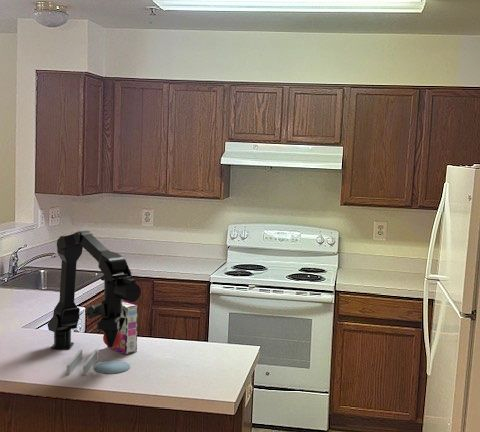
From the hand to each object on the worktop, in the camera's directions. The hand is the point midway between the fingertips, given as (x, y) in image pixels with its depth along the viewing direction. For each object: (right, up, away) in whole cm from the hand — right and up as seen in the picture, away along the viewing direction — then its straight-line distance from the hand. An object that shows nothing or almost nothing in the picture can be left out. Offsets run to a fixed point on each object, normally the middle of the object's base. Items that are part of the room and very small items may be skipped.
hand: (112, 344), depth 209 cm
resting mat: (0, -8, +1) cm, 8 cm away
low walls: (-10, -7, +1) cm, 12 cm away
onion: (0, -2, 0) cm, 2 cm away
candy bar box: (-1, -6, +20) cm, 21 cm away
